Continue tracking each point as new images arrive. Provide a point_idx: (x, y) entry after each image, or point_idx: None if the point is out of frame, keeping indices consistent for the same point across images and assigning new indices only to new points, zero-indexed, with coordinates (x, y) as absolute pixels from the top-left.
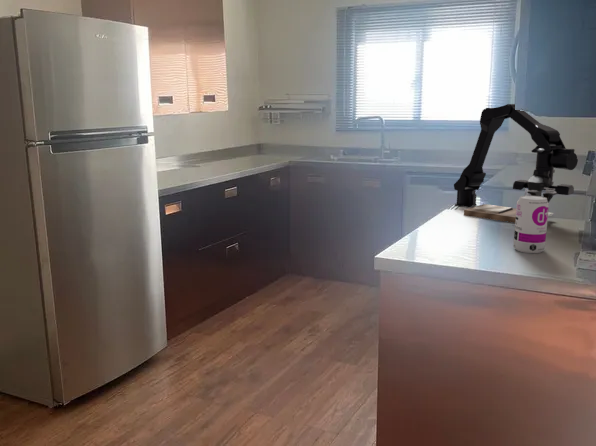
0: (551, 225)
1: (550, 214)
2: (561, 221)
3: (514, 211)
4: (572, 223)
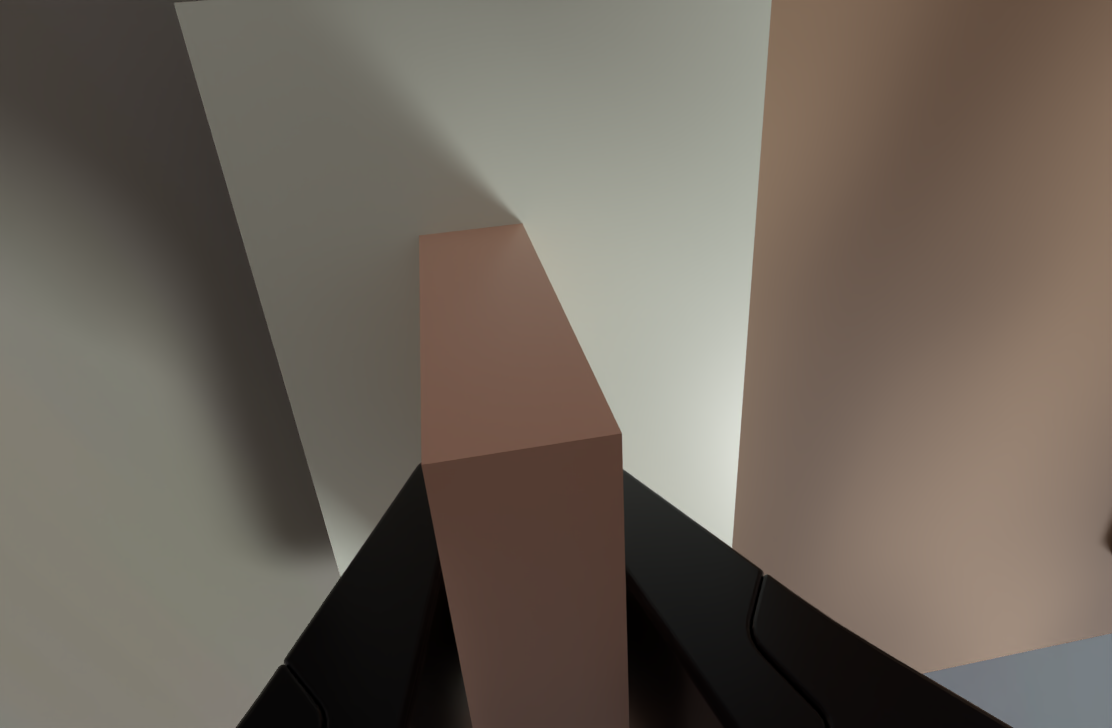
0: (89, 214)
1: None
2: (257, 656)
3: (1063, 429)
4: (32, 668)
